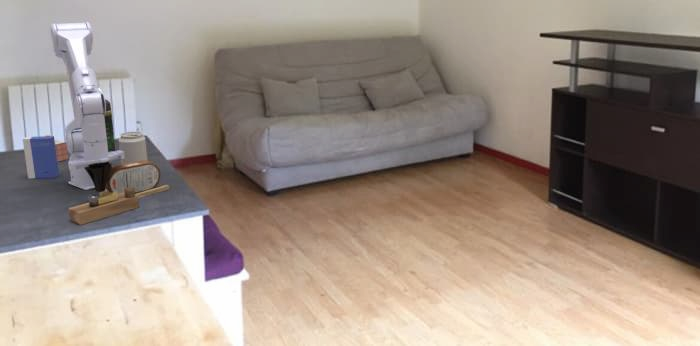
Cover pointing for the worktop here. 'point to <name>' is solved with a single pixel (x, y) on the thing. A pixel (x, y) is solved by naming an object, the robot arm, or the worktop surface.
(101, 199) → the brass lever
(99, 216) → the wooden block with knobs
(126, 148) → the can
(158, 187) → the oak guide strips
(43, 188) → the worktop surface
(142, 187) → the tin
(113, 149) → the coffee jar
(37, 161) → the walkman
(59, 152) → the puzzle toy
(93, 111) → the robot arm
